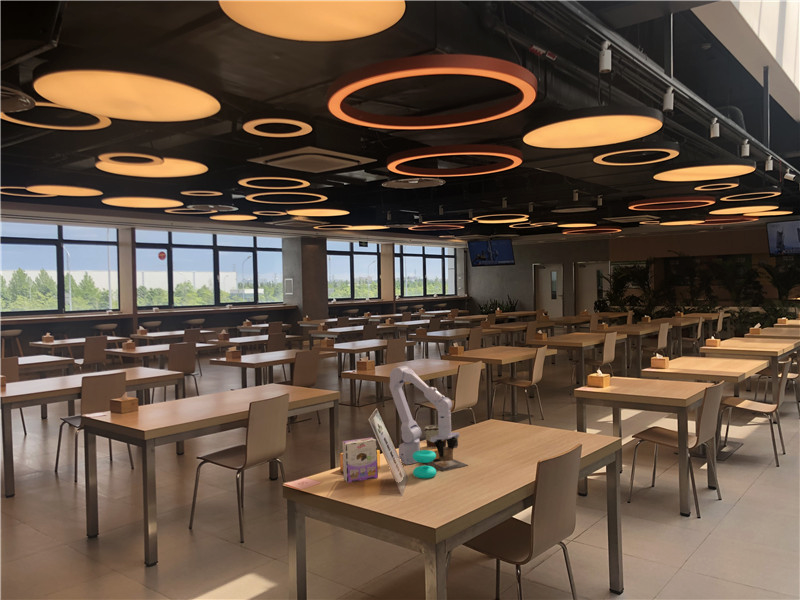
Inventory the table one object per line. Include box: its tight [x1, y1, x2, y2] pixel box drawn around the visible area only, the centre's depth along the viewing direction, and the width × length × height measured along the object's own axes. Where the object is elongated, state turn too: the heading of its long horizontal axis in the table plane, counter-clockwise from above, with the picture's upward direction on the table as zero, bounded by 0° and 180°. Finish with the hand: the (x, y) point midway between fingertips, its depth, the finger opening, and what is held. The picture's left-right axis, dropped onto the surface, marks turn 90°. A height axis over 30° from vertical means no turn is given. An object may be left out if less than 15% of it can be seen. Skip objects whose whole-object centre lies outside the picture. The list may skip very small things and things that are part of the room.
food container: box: [423, 424, 447, 448], centre depth 298 cm, size 12×6×10 cm, turn 84°
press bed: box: [423, 458, 468, 472], centre depth 267 cm, size 14×18×3 cm
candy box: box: [341, 436, 379, 483], centre depth 250 cm, size 14×6×16 cm, turn 111°
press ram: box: [429, 437, 459, 460], centre depth 274 cm, size 18×2×8 cm, turn 121°
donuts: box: [412, 449, 437, 480], centre depth 251 cm, size 10×10×10 cm
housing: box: [439, 446, 454, 462], centre depth 265 cm, size 4×4×5 cm
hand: (445, 455), depth 265 cm, fingers closed on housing, 4 cm apart
